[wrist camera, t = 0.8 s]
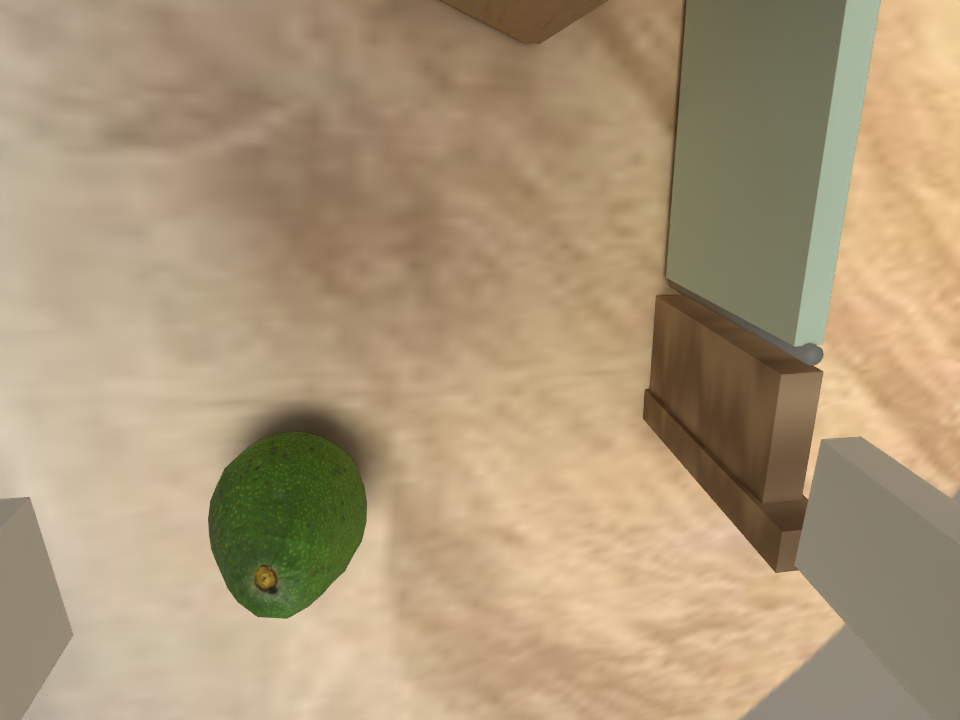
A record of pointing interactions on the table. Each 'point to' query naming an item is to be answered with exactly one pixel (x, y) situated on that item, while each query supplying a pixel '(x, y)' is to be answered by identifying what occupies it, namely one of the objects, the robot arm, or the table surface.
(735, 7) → the door
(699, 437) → the wall frame
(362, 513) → the fruit
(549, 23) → the wooden block
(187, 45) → the table surface
